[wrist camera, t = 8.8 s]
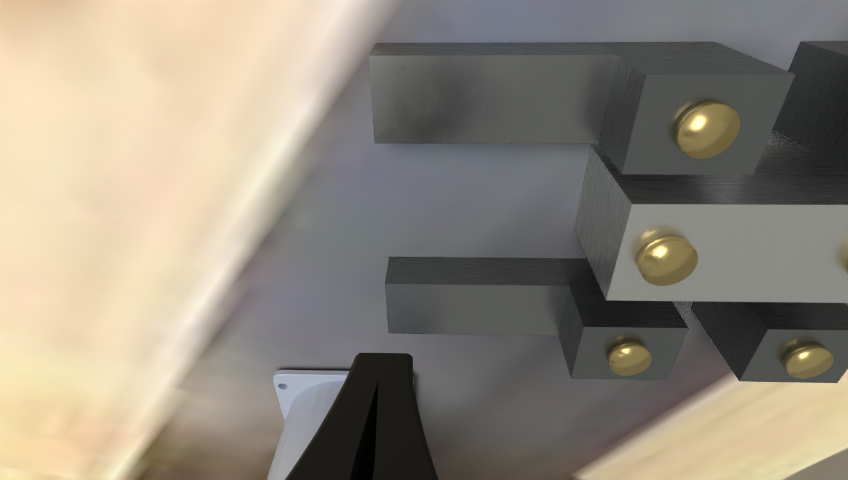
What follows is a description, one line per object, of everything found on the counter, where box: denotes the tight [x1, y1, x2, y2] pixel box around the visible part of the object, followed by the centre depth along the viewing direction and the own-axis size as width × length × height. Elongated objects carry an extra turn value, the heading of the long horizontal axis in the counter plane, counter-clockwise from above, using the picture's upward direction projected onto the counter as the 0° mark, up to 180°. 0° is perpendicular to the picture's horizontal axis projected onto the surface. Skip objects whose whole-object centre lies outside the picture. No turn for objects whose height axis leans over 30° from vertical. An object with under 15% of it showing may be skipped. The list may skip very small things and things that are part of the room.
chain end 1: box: [369, 42, 795, 380], centre depth 18 cm, size 12×12×5 cm
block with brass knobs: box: [574, 145, 848, 303], centre depth 17 cm, size 4×10×6 cm, turn 91°
